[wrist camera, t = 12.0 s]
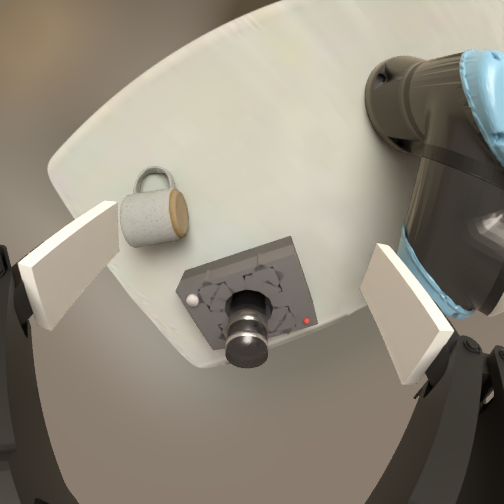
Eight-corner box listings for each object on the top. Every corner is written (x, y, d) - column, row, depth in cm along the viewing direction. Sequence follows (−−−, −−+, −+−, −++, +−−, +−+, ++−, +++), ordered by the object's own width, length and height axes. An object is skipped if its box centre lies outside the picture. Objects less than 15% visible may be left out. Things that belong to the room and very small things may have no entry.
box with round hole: (289, 233, 42) (294, 254, 36) (313, 302, 47) (319, 328, 41) (184, 268, 45) (173, 292, 39) (218, 328, 51) (213, 355, 45)
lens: (232, 281, 42) (225, 338, 31) (268, 285, 42) (272, 342, 32) (229, 309, 44) (223, 366, 34) (263, 312, 45) (265, 370, 34)
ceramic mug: (194, 227, 42) (181, 249, 35) (147, 235, 43) (127, 256, 36) (179, 159, 37) (161, 167, 30) (130, 171, 38) (105, 182, 31)
